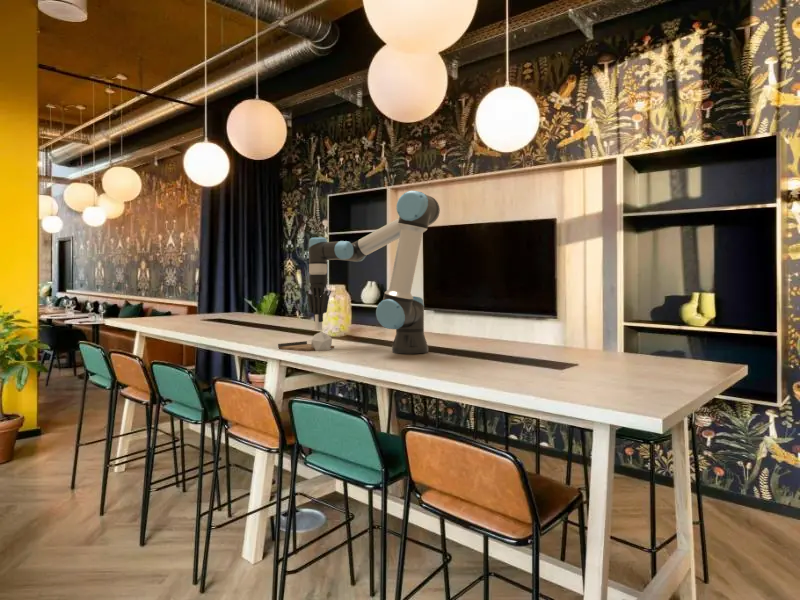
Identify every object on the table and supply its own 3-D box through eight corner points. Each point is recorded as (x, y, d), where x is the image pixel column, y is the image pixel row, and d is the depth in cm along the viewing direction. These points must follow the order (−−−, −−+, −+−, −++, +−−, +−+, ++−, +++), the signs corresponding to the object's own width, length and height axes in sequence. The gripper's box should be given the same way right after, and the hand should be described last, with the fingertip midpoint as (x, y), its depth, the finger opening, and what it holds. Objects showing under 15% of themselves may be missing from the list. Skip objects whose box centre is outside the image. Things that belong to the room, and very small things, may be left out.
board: (334, 348, 236) (334, 343, 236) (307, 351, 223) (307, 345, 223) (305, 346, 246) (305, 341, 246) (278, 348, 234) (278, 343, 234)
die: (332, 340, 222) (316, 325, 226) (317, 356, 223) (302, 341, 226) (340, 343, 230) (325, 329, 234) (326, 359, 230) (311, 344, 234)
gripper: (335, 274, 229) (335, 329, 229) (313, 275, 237) (314, 328, 237) (322, 273, 223) (323, 330, 223) (300, 274, 231) (301, 329, 231)
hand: (318, 329), depth 230 cm, fingers closed
